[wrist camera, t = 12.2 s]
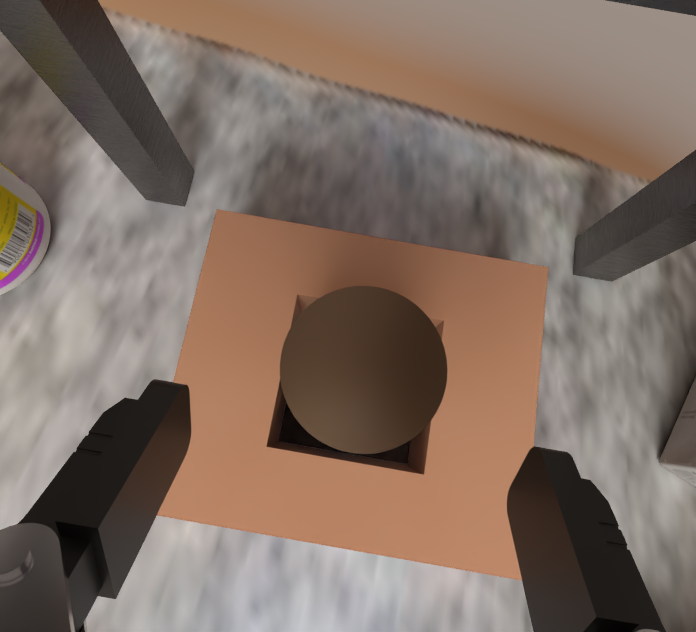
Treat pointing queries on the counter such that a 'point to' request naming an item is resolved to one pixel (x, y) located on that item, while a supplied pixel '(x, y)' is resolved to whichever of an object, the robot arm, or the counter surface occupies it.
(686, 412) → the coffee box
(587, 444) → the counter surface
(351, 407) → the peg
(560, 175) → the counter surface
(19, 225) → the supplement bottle
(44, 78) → the grey metal arch
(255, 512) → the socket
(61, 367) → the counter surface
